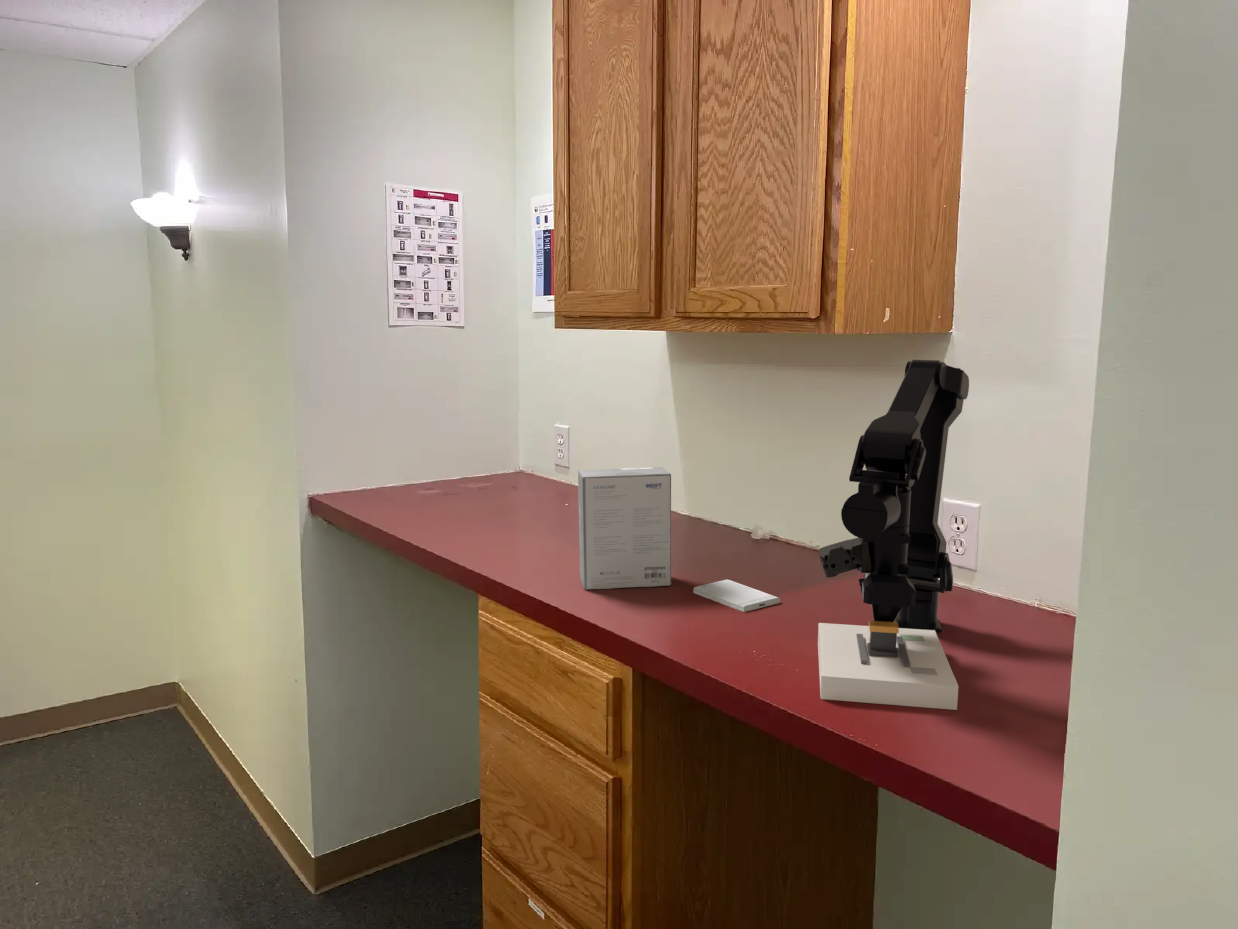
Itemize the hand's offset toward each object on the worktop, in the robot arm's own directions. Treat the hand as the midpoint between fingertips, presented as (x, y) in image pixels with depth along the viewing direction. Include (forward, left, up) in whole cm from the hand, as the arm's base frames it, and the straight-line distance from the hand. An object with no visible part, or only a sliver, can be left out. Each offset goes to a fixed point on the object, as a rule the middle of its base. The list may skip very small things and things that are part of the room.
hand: (880, 637), depth 123 cm
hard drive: (-27, -21, -5) cm, 34 cm away
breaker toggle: (+3, 0, -1) cm, 3 cm away
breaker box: (+2, 0, -4) cm, 5 cm away
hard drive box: (-32, -41, -4) cm, 52 cm away
